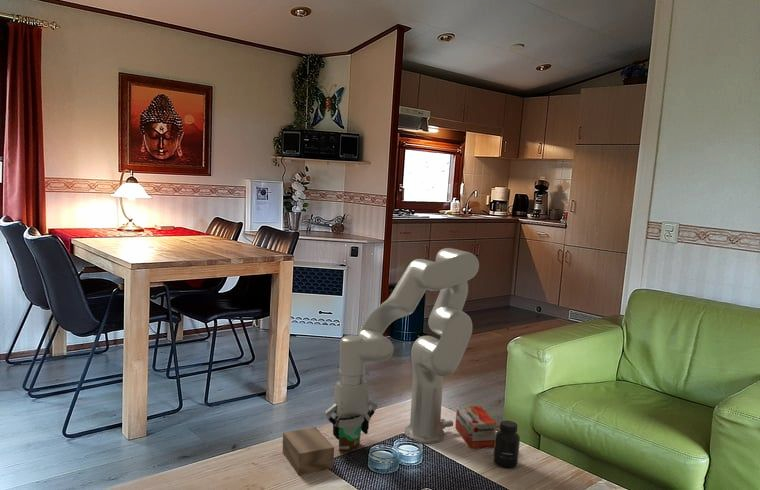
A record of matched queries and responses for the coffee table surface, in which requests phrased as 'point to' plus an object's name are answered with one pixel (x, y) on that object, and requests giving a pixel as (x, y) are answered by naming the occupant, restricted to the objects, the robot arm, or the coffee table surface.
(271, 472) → the coffee table surface
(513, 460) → the supplement bottle
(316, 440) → the block
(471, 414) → the medicine box
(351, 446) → the food container
